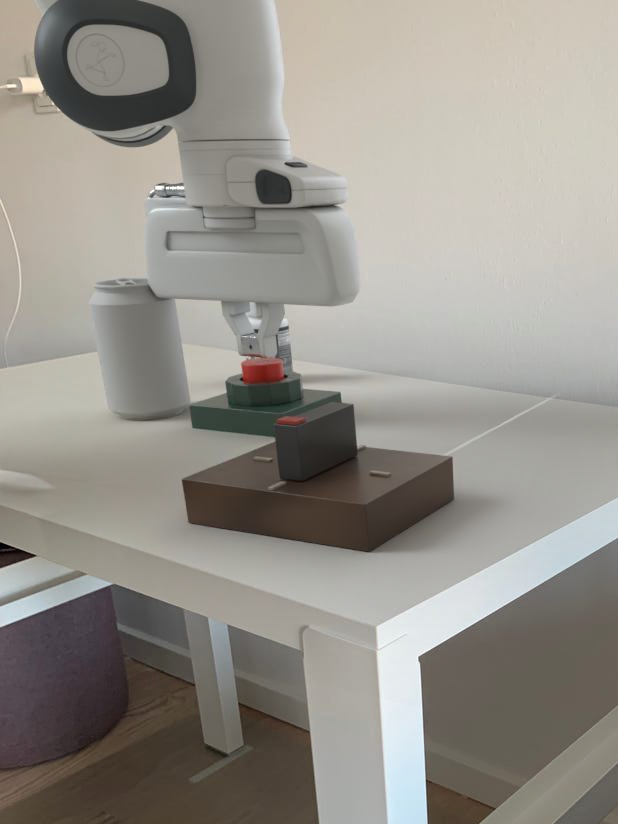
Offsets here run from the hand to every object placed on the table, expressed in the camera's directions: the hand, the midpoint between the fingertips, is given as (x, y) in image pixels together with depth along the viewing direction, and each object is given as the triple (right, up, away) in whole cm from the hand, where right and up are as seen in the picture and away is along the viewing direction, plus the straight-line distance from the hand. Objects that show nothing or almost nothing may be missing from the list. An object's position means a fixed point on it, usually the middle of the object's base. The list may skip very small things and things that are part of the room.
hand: (258, 356), depth 87 cm
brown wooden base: (+9, -16, -20) cm, 27 cm away
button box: (0, -5, +3) cm, 6 cm away
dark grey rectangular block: (+9, -13, -21) cm, 27 cm away
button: (0, -2, +1) cm, 2 cm away
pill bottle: (-3, +3, +20) cm, 20 cm away
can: (-12, -3, +8) cm, 14 cm away
